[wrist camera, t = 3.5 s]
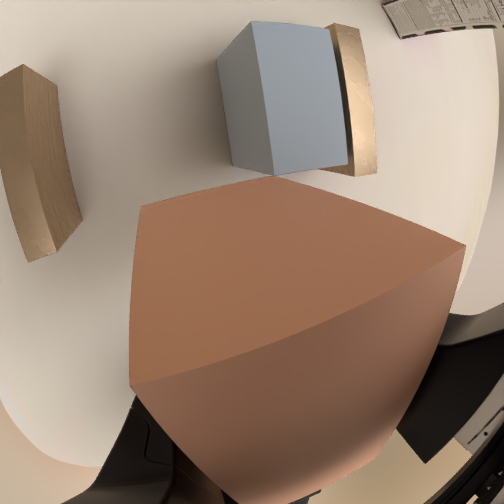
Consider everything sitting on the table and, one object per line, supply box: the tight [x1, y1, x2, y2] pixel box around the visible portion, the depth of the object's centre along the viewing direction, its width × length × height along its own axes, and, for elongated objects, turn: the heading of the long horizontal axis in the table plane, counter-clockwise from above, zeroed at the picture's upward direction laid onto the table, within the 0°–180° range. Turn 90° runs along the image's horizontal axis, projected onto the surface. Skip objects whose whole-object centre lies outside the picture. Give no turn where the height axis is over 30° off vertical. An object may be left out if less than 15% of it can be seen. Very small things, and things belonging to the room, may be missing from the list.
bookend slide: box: [0, 64, 82, 262], centre depth 11 cm, size 10×5×6 cm, turn 6°
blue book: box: [216, 21, 348, 176], centre depth 14 cm, size 8×4×7 cm, turn 7°
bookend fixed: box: [319, 23, 377, 177], centre depth 16 cm, size 10×5×6 cm, turn 6°
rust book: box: [129, 176, 466, 504], centre depth 7 cm, size 8×4×7 cm, turn 6°
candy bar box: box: [382, 0, 504, 39], centre depth 11 cm, size 11×5×16 cm, turn 122°
